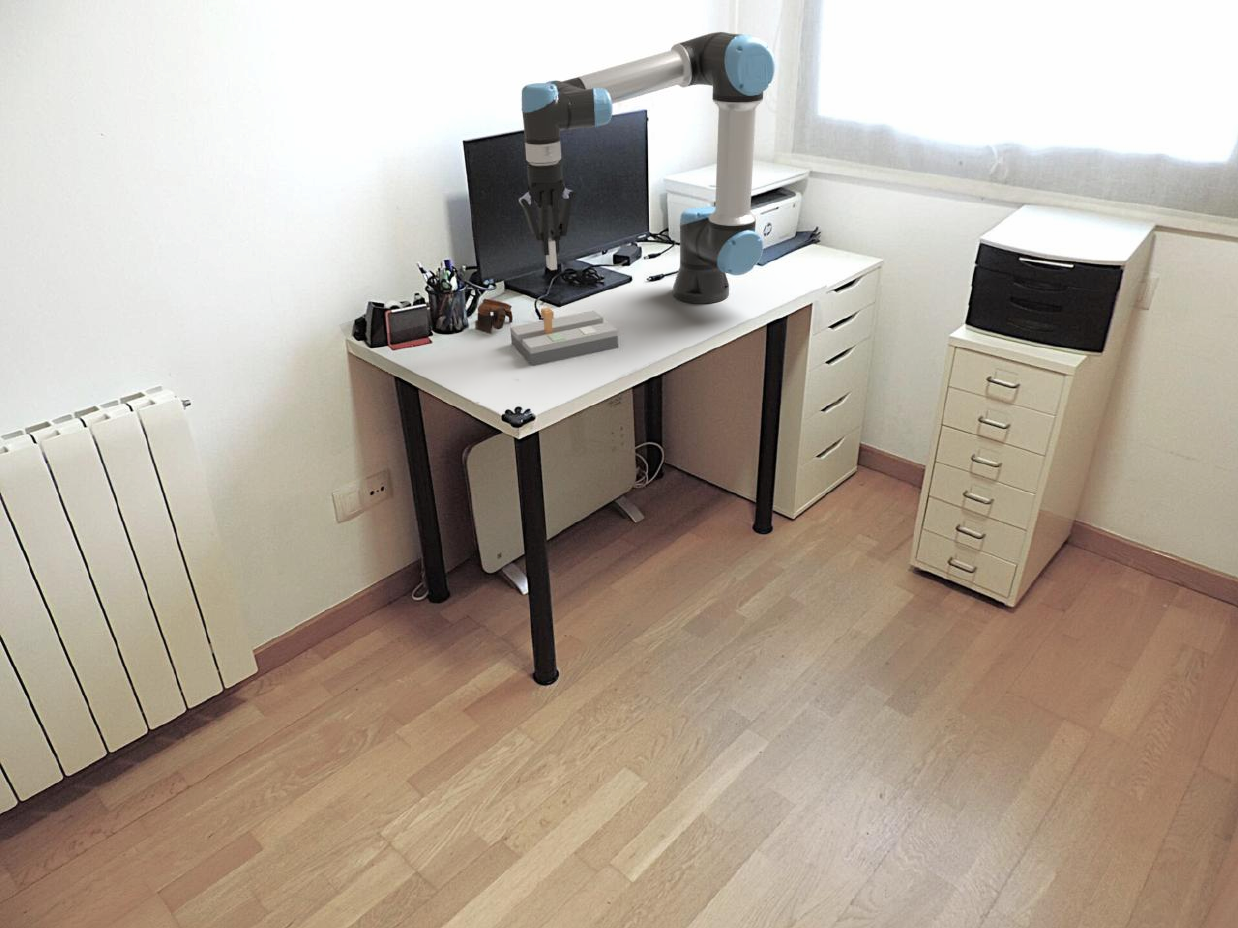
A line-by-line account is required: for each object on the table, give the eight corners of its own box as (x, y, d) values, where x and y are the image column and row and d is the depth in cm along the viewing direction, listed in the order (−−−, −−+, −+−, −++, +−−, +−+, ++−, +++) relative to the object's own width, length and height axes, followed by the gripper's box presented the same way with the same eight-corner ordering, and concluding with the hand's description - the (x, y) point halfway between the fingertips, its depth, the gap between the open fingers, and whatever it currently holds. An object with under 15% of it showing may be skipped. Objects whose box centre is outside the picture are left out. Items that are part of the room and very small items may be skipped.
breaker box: (594, 327, 224) (593, 309, 222) (618, 347, 213) (617, 328, 211) (511, 344, 217) (510, 326, 214) (531, 365, 206) (530, 347, 203)
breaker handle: (550, 333, 213) (548, 306, 210) (555, 337, 211) (553, 310, 208) (542, 334, 213) (540, 308, 209) (547, 339, 210) (545, 312, 207)
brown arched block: (467, 328, 228) (474, 296, 227) (500, 337, 233) (507, 306, 232) (485, 331, 218) (493, 298, 217) (519, 340, 223) (527, 307, 222)
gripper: (521, 169, 187) (530, 277, 199) (578, 161, 191) (584, 267, 203) (509, 162, 193) (519, 268, 205) (565, 154, 197) (571, 258, 209)
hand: (551, 267), depth 204 cm, fingers closed
